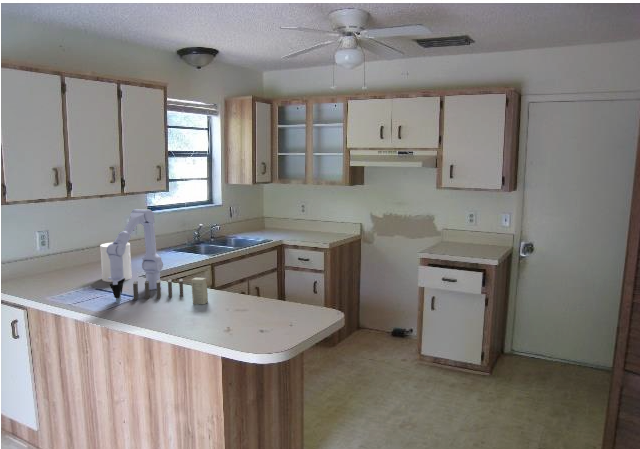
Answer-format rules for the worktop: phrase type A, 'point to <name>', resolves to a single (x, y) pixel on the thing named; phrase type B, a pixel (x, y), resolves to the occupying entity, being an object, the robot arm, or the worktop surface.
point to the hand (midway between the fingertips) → (118, 295)
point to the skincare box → (199, 290)
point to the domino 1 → (118, 298)
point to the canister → (106, 262)
